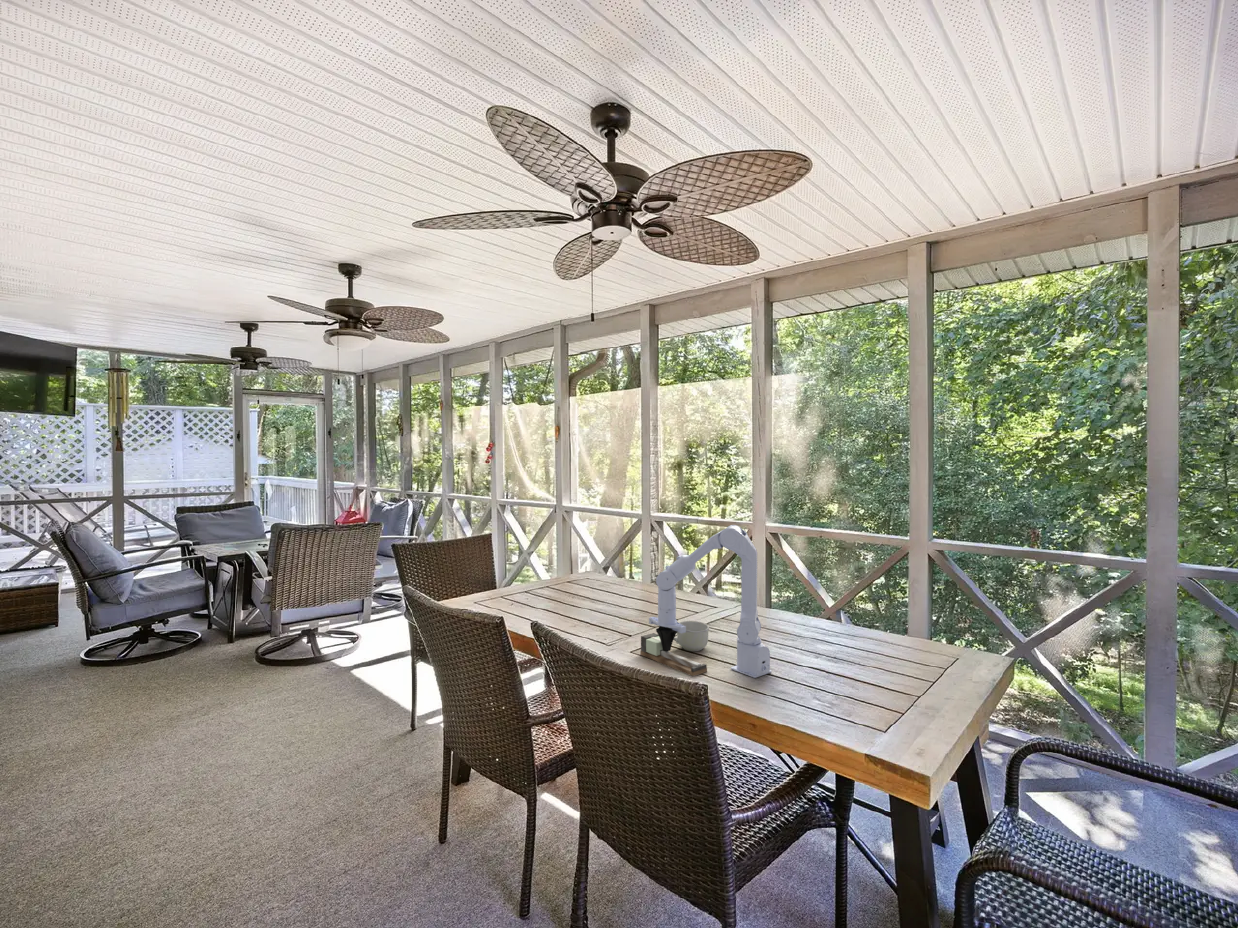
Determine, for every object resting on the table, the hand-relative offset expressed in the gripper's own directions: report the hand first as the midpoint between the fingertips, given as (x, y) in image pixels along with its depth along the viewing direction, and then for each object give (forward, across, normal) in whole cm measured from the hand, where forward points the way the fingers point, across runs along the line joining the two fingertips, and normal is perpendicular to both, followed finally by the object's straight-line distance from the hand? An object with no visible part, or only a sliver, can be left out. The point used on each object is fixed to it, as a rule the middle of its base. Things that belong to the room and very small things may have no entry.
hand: (666, 650), depth 184 cm
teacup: (+3, +4, -14) cm, 15 cm away
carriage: (+2, +4, 0) cm, 5 cm away
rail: (+3, -3, 0) cm, 4 cm away
